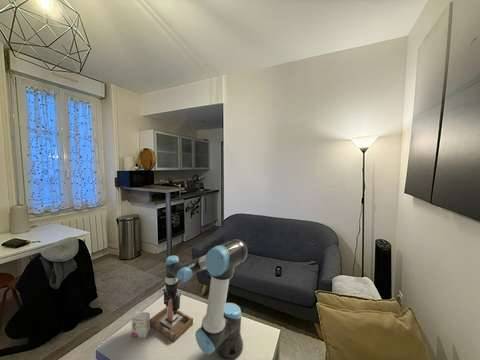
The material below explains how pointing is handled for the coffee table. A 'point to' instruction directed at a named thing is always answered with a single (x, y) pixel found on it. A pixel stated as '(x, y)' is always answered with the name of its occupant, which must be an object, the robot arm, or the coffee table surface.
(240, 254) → the robot arm
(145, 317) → the ink box
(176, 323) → the socket
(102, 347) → the coffee table surface
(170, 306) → the peg
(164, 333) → the tray
